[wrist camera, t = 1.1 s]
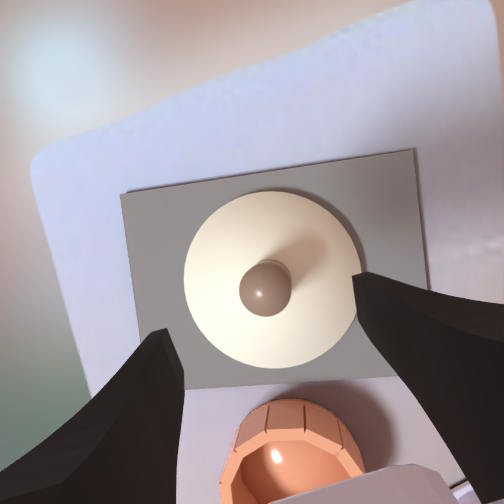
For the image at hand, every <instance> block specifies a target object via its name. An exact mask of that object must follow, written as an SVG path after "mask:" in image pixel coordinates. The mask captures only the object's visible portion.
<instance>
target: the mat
mask: <svg viewBox="0 0 504 504" xmlns="http://www.w3.org/2000/svg"><path fill="white" fill-rule="evenodd" d="M269 191H275V192H286V193H290V194H295V195H298V196H301V197H304V198H307V199H309V200H311V201H313V202H315V203H317V204H318V205H320V206H321V207H323V208H324V209H326V210H327V211H328V212H330V213H331V214H332V215H333V216H334V217H335V218H336V219H337V220H338V221H339V222H340V223H341V225H342V226H343V227H344V228H345V230H346V231H347V233H348V234H349V236H350V238H351V239H352V242H353V244H354V246H355V248H356V251H357V254H358V257H359V260H360V266H361V272H362V273H363V272H366V271H367V272H372V273H375V274H378V275H382V276H385V277H388V278H391V279H394V280H397V281H400V282H403V283H406V284H409V285H412V286H416V287H419V288H422V289H426V290H427V280H426V270H425V261H424V251H423V242H422V232H421V222H420V213H419V203H418V194H417V184H416V174H415V165H414V155H413V150H407V151H401V152H394V153H388V154H381V155H374V156H368V157H361V158H355V159H348V160H342V161H335V162H329V163H322V164H315V165H309V166H302V167H296V168H289V169H283V170H276V171H269V172H263V173H256V174H250V175H243V176H237V177H230V178H223V179H217V180H210V181H204V182H197V183H191V184H184V185H178V186H171V187H164V188H158V189H151V190H145V191H138V192H132V193H125V194H120V200H121V207H122V214H123V221H124V228H125V235H126V243H127V250H128V257H129V264H130V271H131V278H132V285H133V292H134V299H135V307H136V314H137V321H138V328H139V335H140V342H141V343H142V342H143V340H144V339H145V338H146V337H147V336H148V335H149V334H150V333H151V332H153V331H157V330H160V329H164V328H167V329H168V332H169V334H170V337H171V339H172V342H173V344H174V346H175V349H176V351H177V354H178V356H179V359H180V361H181V364H182V366H183V369H184V384H185V390H189V389H205V388H220V387H236V386H251V385H267V384H283V383H298V382H314V381H329V380H345V379H361V378H376V377H392V376H398V375H397V373H396V372H395V371H394V370H393V369H392V367H391V366H390V365H389V364H388V362H387V361H386V360H385V359H384V358H383V356H382V355H381V354H380V353H379V351H378V350H377V349H376V348H375V346H374V345H373V344H372V343H371V341H370V340H369V338H368V337H367V335H366V333H365V332H364V330H363V328H362V327H361V325H360V323H359V322H358V318H357V312H356V314H355V317H354V319H353V321H352V323H351V324H350V326H349V328H348V330H347V331H346V332H345V334H344V335H343V336H342V337H341V339H340V340H339V341H338V342H337V343H336V344H335V345H334V346H333V347H332V348H330V349H329V350H328V351H326V352H325V353H324V354H322V355H320V356H319V357H317V358H315V359H313V360H311V361H309V362H306V363H304V364H301V365H297V366H293V367H287V368H261V367H255V366H252V365H248V364H245V363H242V362H240V361H237V360H235V359H233V358H231V357H229V356H228V355H226V354H224V353H223V352H222V351H220V350H219V349H218V348H216V347H215V346H214V345H213V344H212V343H211V342H210V341H209V340H208V339H207V338H206V337H205V335H204V334H203V333H202V332H201V331H200V329H199V327H198V326H197V324H196V323H195V321H194V319H193V317H192V314H191V312H190V310H189V307H188V304H187V300H186V295H185V290H184V268H185V262H186V257H187V254H188V251H189V248H190V245H191V243H192V241H193V239H194V237H195V235H196V233H197V232H198V230H199V229H200V227H201V226H202V225H203V223H204V222H205V221H206V220H207V219H208V218H209V217H210V216H211V215H212V214H213V213H214V212H215V211H217V210H218V209H219V208H221V207H222V206H224V205H225V204H227V203H228V202H231V201H233V200H235V199H237V198H239V197H242V196H245V195H248V194H253V193H258V192H269Z"/></svg>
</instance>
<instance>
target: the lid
mask: <svg viewBox="0 0 504 504" xmlns="http://www.w3.org/2000/svg"><path fill="white" fill-rule="evenodd" d="M359 273H362V272H361V266H360V260H359V257H358V254H357V251H356V248H355V246H354V244H353V242H352V239H351V238H350V236H349V234H348V233H347V231H346V230H345V228H344V227H343V226H342V225H341V223H340V222H339V221H338V220H337V219H336V218H335V217H334V216H333V215H332V214H331V213H330V212H328V211H327V210H326V209H324V208H323V207H321V206H320V205H318V204H317V203H315V202H313V201H311V200H309V199H307V198H304V197H301V196H298V195H295V194H290V193H286V192H275V191H269V192H258V193H253V194H248V195H245V196H242V197H239V198H237V199H235V200H233V201H231V202H228V203H227V204H225V205H224V206H222V207H221V208H219V209H218V210H217V211H215V212H214V213H213V214H212V215H211V216H210V217H209V218H208V219H207V220H206V221H205V222H204V223H203V225H202V226H201V227H200V229H199V230H198V232H197V233H196V235H195V237H194V239H193V241H192V243H191V245H190V248H189V251H188V254H187V257H186V262H185V268H184V290H185V295H186V300H187V304H188V307H189V310H190V312H191V314H192V317H193V319H194V321H195V323H196V324H197V326H198V327H199V329H200V331H201V332H202V333H203V334H204V335H205V337H206V338H207V339H208V340H209V341H210V342H211V343H212V344H213V345H214V346H215V347H216V348H218V349H219V350H220V351H222V352H223V353H224V354H226V355H228V356H229V357H231V358H233V359H235V360H237V361H240V362H242V363H245V364H248V365H252V366H255V367H261V368H287V367H293V366H297V365H301V364H304V363H306V362H309V361H311V360H313V359H315V358H317V357H319V356H320V355H322V354H324V353H325V352H326V351H328V350H329V349H330V348H332V347H333V346H334V345H335V344H336V343H337V342H338V341H339V340H340V339H341V337H342V336H343V335H344V334H345V332H346V331H347V330H348V328H349V326H350V324H351V323H352V321H353V319H354V317H355V314H356V312H357V311H356V304H355V297H354V290H353V283H352V275H356V274H359Z"/></svg>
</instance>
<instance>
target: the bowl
mask: <svg viewBox="0 0 504 504" xmlns="http://www.w3.org/2000/svg"><path fill="white" fill-rule="evenodd" d="M365 473H366V471H365V468H364V464H363V461H362V457H361V454H360V450H359V447H358V446H357V444H356V443H355V441H354V439H353V437H352V435H351V433H350V431H349V430H348V428H347V427H346V426H345V424H344V423H343V422H342V421H341V420H340V419H339V418H338V417H337V416H336V415H335V414H333V413H332V412H331V411H329V410H328V409H326V408H324V407H323V406H321V405H319V404H316V403H314V402H311V401H307V400H303V399H296V398H285V399H278V400H274V401H270V402H268V403H265V404H263V405H261V406H259V407H257V408H256V409H255V410H253V411H252V412H251V413H250V414H249V415H248V416H247V417H246V418H245V419H244V420H243V421H242V423H241V424H240V426H239V428H238V430H237V431H236V434H235V437H234V440H233V442H232V444H231V447H230V449H229V451H228V455H227V458H226V461H225V464H224V468H223V471H222V474H221V477H220V482H219V488H220V495H221V503H222V504H268V503H270V502H273V501H276V500H280V499H283V498H286V497H290V496H293V495H296V494H300V493H303V492H306V491H309V490H313V489H316V488H319V487H323V486H326V485H329V484H332V483H336V482H339V481H342V480H346V479H349V478H352V477H356V476H359V475H362V474H365Z"/></svg>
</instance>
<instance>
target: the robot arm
mask: <svg viewBox="0 0 504 504" xmlns="http://www.w3.org/2000/svg"><path fill="white" fill-rule="evenodd" d="M352 283H353V290H354V297H355V304H356V311H357V318H358V322H359V323H360V325H361V327H362V328H363V330H364V332H365V333H366V335H367V337H368V338H369V340H370V341H371V343H372V344H373V345H374V346H375V348H376V349H377V350H378V351H379V353H380V354H381V355H382V356H383V358H384V359H385V360H386V361H387V362H388V364H389V365H390V366H391V367H392V369H393V370H394V371H395V372H396V373H397V375H398V376H399V377H400V378H401V379H402V381H403V382H404V383H405V384H406V386H407V387H408V388H409V389H410V391H411V392H412V393H413V395H414V396H415V397H416V399H417V400H418V402H419V403H420V405H421V406H422V408H423V409H424V411H425V412H426V414H427V415H428V417H429V418H430V420H431V421H432V423H433V425H434V426H435V428H436V429H437V431H438V432H439V434H440V436H441V437H442V439H443V440H444V442H445V444H446V445H447V447H448V448H449V450H450V451H451V453H452V455H453V456H454V458H455V460H456V461H457V463H458V465H459V466H460V468H461V470H462V471H463V473H464V475H465V476H466V478H467V480H468V481H466V482H464V483H462V484H461V485H459V486H457V487H455V488H453V489H451V490H450V489H449V487H448V486H447V484H446V483H445V481H444V480H443V478H442V477H441V475H440V474H439V473H438V472H436V471H433V470H430V469H428V468H425V467H422V466H420V465H416V464H406V465H397V466H388V467H385V468H382V469H379V470H375V471H372V472H369V473H365V474H362V475H359V476H356V477H352V478H349V479H346V480H342V481H339V482H336V483H332V484H329V485H326V486H323V487H319V488H316V489H313V490H309V491H306V492H303V493H300V494H296V495H293V496H290V497H286V498H283V499H280V500H276V501H273V502H270V503H268V504H504V304H497V303H489V302H482V301H476V300H470V299H465V298H460V297H454V296H450V295H445V294H441V293H437V292H433V291H430V290H426V289H422V288H419V287H416V286H412V285H409V284H406V283H403V282H400V281H397V280H394V279H391V278H388V277H385V276H382V275H378V274H375V273H372V272H367V271H366V272H363V273H359V274H356V275H352ZM184 396H185V384H184V369H183V366H182V364H181V361H180V359H179V356H178V354H177V351H176V349H175V346H174V344H173V342H172V339H171V337H170V334H169V332H168V329H167V328H164V329H160V330H157V331H153V332H151V333H150V334H149V335H148V336H147V337H146V338H145V339H144V340H143V342H142V343H141V344H140V345H139V346H138V348H137V349H136V350H135V351H134V353H133V354H132V355H131V356H130V357H129V359H128V360H127V361H126V362H125V363H124V365H123V366H122V367H121V368H120V369H119V370H118V372H117V373H116V374H115V375H114V376H113V377H112V378H111V379H110V380H109V382H108V383H107V384H106V385H105V386H104V387H103V388H102V389H101V390H100V391H99V392H98V393H97V394H96V395H95V396H94V397H93V398H92V399H91V400H90V401H89V402H88V403H87V404H86V405H85V406H84V407H83V408H82V409H81V410H80V411H79V412H78V413H76V414H75V415H74V416H73V417H72V418H71V419H70V420H68V421H67V422H66V423H65V424H63V425H62V426H61V427H60V428H59V429H57V430H56V431H55V432H54V433H53V434H51V435H50V436H49V437H48V438H47V439H45V440H44V441H43V442H42V443H40V444H39V445H37V446H36V447H35V448H34V449H32V450H31V451H30V452H28V453H27V454H25V455H24V456H23V457H21V458H20V459H18V460H17V461H15V462H14V463H13V464H11V465H10V466H8V467H7V468H5V469H4V470H2V471H1V472H0V504H176V471H177V456H178V447H179V439H180V431H181V423H182V414H183V405H184Z"/></svg>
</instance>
